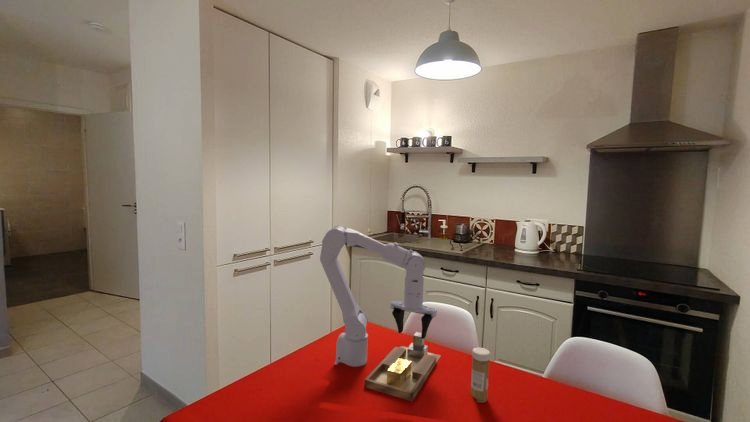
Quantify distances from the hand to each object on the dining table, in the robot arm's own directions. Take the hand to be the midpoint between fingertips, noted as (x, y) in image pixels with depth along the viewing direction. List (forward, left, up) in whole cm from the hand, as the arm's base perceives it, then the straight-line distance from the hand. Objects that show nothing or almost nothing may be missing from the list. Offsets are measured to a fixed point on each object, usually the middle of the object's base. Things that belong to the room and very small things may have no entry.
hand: (412, 334), depth 111 cm
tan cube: (0, -8, -10) cm, 12 cm away
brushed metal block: (0, +8, -10) cm, 12 cm away
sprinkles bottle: (+22, -7, -11) cm, 25 cm away
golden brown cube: (0, -12, -10) cm, 15 cm away
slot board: (0, -4, -11) cm, 11 cm away
